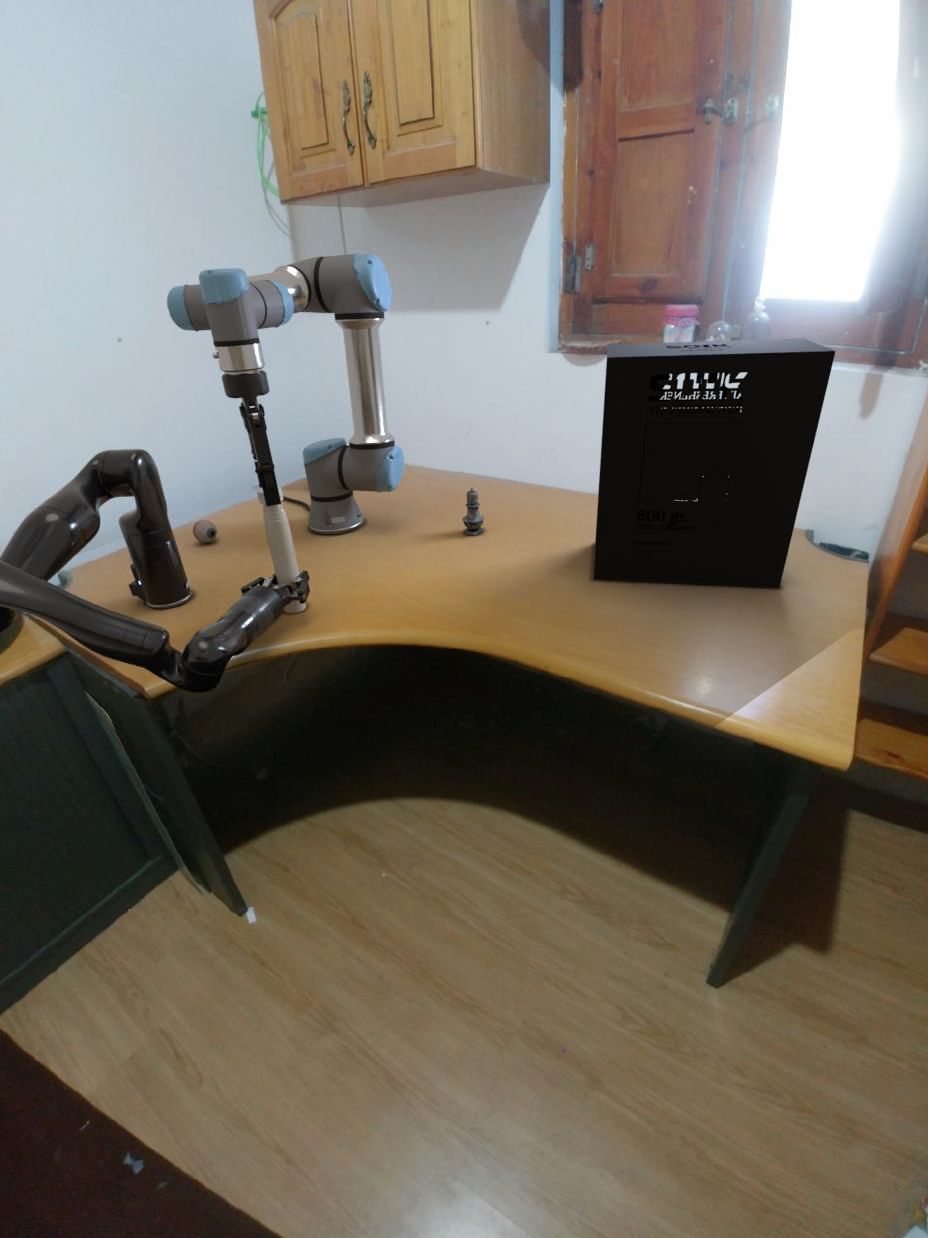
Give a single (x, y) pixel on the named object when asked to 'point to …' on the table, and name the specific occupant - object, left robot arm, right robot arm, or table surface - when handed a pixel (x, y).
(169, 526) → the left robot arm
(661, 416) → the cardboard box
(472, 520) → the salt shaker
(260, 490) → the cap
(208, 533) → the eyeball
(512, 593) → the table surface
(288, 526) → the bottle
